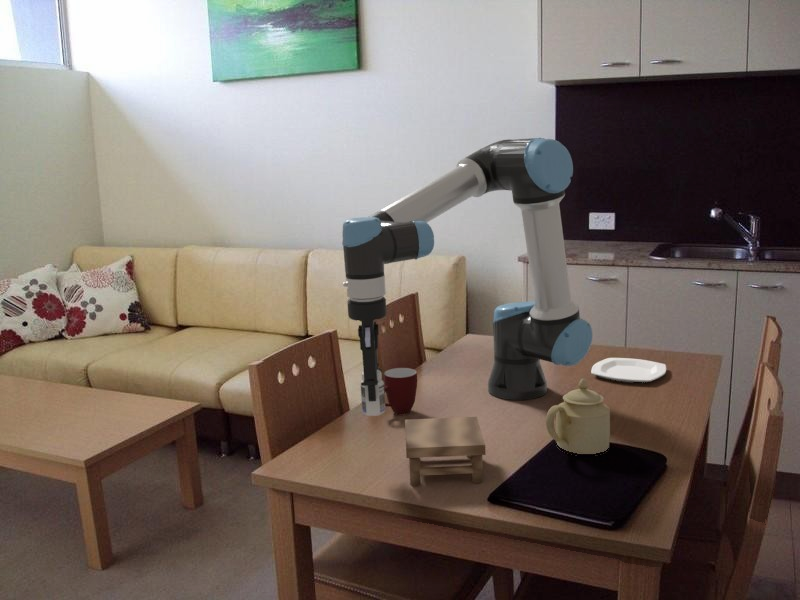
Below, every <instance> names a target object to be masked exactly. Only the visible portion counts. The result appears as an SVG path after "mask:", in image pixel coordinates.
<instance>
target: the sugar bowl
mask: <svg viewBox="0 0 800 600" xmlns="http://www.w3.org/2000/svg"><path fill="white" fill-rule="evenodd" d="M588 387H589V384H588V381H587V380H586V378H581V379H580V380H579V382H578V388H576V389H572V390H570V391H568V392H567V393H566V394H564V395H563V396H562V400H563V401H562V402H561V403H558V404H554V405H552V406H551V407H550V408H549V409H548V411H547V413H546V418H545V425H546V429H547V432H548V434H549V435H550V437H551V439H553V440H554V441H555V444H556V443H557V445H558V446H559V447H560V448H562V449H564V450H566V451H569V452H573V453H577V454H596V453H600V452H604V451H606V450H607V449H608V448H609V449H610V439H611V438H610V435H611V433H610V432H611V410H610V408H609V406H607V405H606V404H604V403H603V402H604V400H605V398H604V396H602V395H601V394H599V393H598V392H596V391H595V390H591V389H587V388H588ZM557 445H556V446H557ZM609 449H608V450H609ZM606 452H607V451H606Z"/></svg>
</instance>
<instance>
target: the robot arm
mask: <svg viewBox="0 0 800 600" xmlns="http://www.w3.org/2000/svg"><path fill="white" fill-rule="evenodd" d="M573 174H574V165H573V160H572V156H571V153H570V152H569V150H568V149H567V147H566V146H564V144H562V143H561V142H560V141H559V140H555V139H554V138H553V139H552V138H544V137H536V138H535V137H534V138H531V137H530V138H517V139H502V140H498V141H496V142H495V141H494V142H493V143H490V144H488V145H486V146H484V147H482V148H480V149H478V150H477V151H475V152H473V153H471V154H469V155H467V156H465V157H463V158H461V159H460V160H459V161H458V162H457V164H456V166H455V167H454V168H453V169H451V170H449V171H448V172H445V173H444V174H442V175H440V176H439V177H437V178H435V179H434V180H432V181H430V182H427V184H425V185H422V186H421V187H419V188H417V189H416V190H414V191H412V192H410V193H409V194H407V195H405V196H403V197H402V198H399V199H398V200H396V201H394V202H392V203H391V204H389V205H387V206H386V207H384V208H382V209H380V210H379V211H377V212H374V213H372V214H369V216H365V217H364V216H363V217H353V218H348V219H347V220H345V221H344V222H343V224H342V234H341V235H342V243H341V244H342V246H343V247H342V248H343V260H344V272H345V280H346V281H344V282H343V283H342V286H343V287H344V288H346V287H347V288H346V296H347V297H348V300H347V301H346V303H347V315H348V318H349V319H350V320H353V321H360V322H361V324H359V325H358V328H357V332H358V333H357V334H358V337H359V347H360V350H361V353H362V355H361V356H362V367H363V371H364V382H362V381H361V382H360V387H361V386H365V398H366V413H367V415H366V417H373V416H374V417H375V416H376V417H377V416H381V414H380V400H379V385H378V380H377V370H380V371H381V373H382V372H383V371H382V370H383V369H382V368H379V365H380V364H379V361H378V349H379V334H380V333H379V331H380V330H379V329H380V328H379V323H377V322H376V320H381V319H384V318H385V317H386V316H387V301H386V300H387V299H386V298H385V295H386V292H387V291H386V279H385V278H386V277H385V265H387V264H388V265H389V264H392V263H398V262H405V261H411V260H418V259H421V258H424V257H427V256H429V255H430V254H431V253H432V252H433V250H434V246H435V235H434V231H433V229H432V227H431V226H430V224H428V223H429V222H431V221H432V220H434V219H436V218H437V217H439V216H440V215H442V214H444V213H445V212H448V211H449V210H451V209H452V208H454V207H456V206H458V205H460V204H461V203H464V201H466V200H468V199H470V198H472V197H474V198H480V197H482V196H483V195H485V194H488V193H490V192H495V191H511V194H512V200H513V204H514V205H515V206H517V207H518V208H520V210H521V217H522V222H523V224H522V225H523V230H524V231H523V232H524V238H525V239H524V240H525V245H526V251H527V259H528V266H529V272H530V273H529V274H530V281H531V287H532V294H533V301H520V302H519V301H518V302H509V303H504V304H501V305H498V306H496V307H495V309H494V311H493V321H492V328H493V329H492V330H493V332H492V333H493V351H494V352H493V354H494V355H493V356H494V357H493V358H494V359H493V365H492V369H491V371H490V374H489V378H488V381H487V391H488V393H489V394H490V395H492V396H494V397H496V398H500V399H504V400H505V399H506V400H515V401H516V400H519V401H520V400H521V401H523V400H531V399H536V398H537V399H538V398H539V397H543V396H544V395H546V393H547V391H548V389H547V388H548V384H547V380H546V375H545V373H544V370H543V367H542V365H541V360H542V361H545V362H549V363H553V364H554V365H556V366H565V367H572V366H575V365H577V364H579V363H580V362H582V361H583V359H584V358H586V356H587V354H588V351H589V350H590V348H591V345H592V342H593V334H594V333H593V329H592V325H591V324H590V323H589V322H588V321H587V320H585V319H583V318H581V315H580V308H579V304H577V303H576V302H574V301H573V300H572V296H571V288H570V280H569V279H570V278H569V273H568V271H569V270H568V264H567V256H566V247H565V241H564V240H565V239H564V233H563V232H564V231H563V224H562V216H561V208H560V202H561V201H562V200H563V199H564V197H565V195H566V193H565V190H566V189H567V188H568V187H569V185H570V184H571V181H572V179H571V178H572V177H573V176H574V175H573ZM382 374H383V373H382Z"/></svg>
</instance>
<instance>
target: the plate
mask: <svg viewBox="0 0 800 600" xmlns="http://www.w3.org/2000/svg"><path fill="white" fill-rule="evenodd" d="M666 372H667V365H666V364H665V363H661V362H657V361H653V360H646V359H640V358H629V357H628V358H627V357H607V358H605V359H602V360H599V361H597V362H596V363H594V364H593V366H592V367H591V372H590V373H591V375H594V376H598V377H599V378H602V379H606V380H610V379H611V381H615V380H616V381H615V382H621V381H622V382H624V383H633V382H642V383H641V384H645V382H646V383H648V382H652V381H654V380H655V381H656V380H657V379H660V378H661V377H663V376H665V374H666ZM622 382H621V383H622ZM643 382H644V383H643Z"/></svg>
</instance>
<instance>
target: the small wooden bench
mask: <svg viewBox="0 0 800 600" xmlns="http://www.w3.org/2000/svg"><path fill="white" fill-rule="evenodd" d="M478 419H479V418H478V416H461V417H457V416H456V417H439V418H437V417H436V418H417V419H416V418H412V419H404V421H405V422H404V427H405V430H404V431H405V451H406V453H405V454H406V455H405V457H406V459H408V460H409V461H408V463H409V464H408V465H409V483H410V485H411V486H412V487H417V486H420V485H421V476H436V475H437V476H440V475H442V476H443V475H462V474H463V475H464V474H472V475H471V479H472V480H471V481H472V483H474V484H481V483H483V456H486V452H487V451H486V450H487V449H486V442H485V439H484V436H483V433H482V429H481V425H480V422H479V420H478ZM465 456H466V457H467V458H469V459H471V464H469V465H449V466H448V465H447V466H444V465H443V466H426V467H425V466H423V467H421V463H420V462H421V461H420V458H442V457H445V458H446V457H465Z"/></svg>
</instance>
